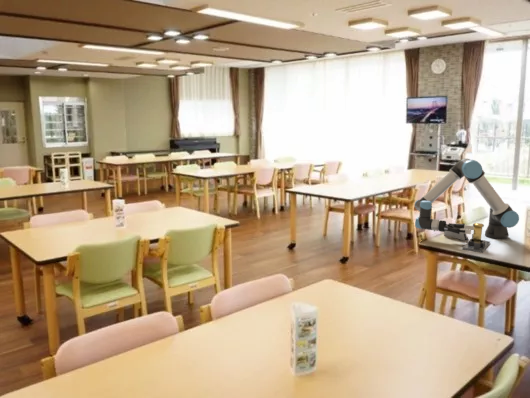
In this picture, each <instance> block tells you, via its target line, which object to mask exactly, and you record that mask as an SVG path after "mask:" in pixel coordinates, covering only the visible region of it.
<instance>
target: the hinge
mask: <svg viewBox="0 0 530 398" xmlns="http://www.w3.org/2000/svg"><path fill="white" fill-rule="evenodd" d="M461 229H463V228H461ZM443 235H444V236H446V237H451V238H454V239H457V240H461V241H466V240H469V236H468V234H464V233H459V234H458V233H454V232H450V231H445V232H443Z"/></svg>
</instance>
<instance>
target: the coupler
mask: <svg viewBox="0 0 530 398" xmlns="http://www.w3.org/2000/svg"><path fill="white" fill-rule="evenodd" d="M472 226H474V230H473V233H472V234H473V242H480V243H481V240H482V233H483V228H484V226H485V225H484V224H483V223H479V222H475V223H473V224H472Z"/></svg>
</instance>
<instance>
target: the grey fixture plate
mask: <svg viewBox="0 0 530 398" xmlns="http://www.w3.org/2000/svg"><path fill="white" fill-rule="evenodd" d="M490 244H491V241H488V240H483V239H481V243H480V242H473V233H471V238H470V239H468V240H467V242H466V244H465V245H463V246H462V251H463V250H464V251H471V252H477V253H483V252H485V250H486V249H487V248H488V246H489V245H490Z"/></svg>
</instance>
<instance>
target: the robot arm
mask: <svg viewBox="0 0 530 398" xmlns="http://www.w3.org/2000/svg"><path fill="white" fill-rule="evenodd" d="M485 174H486V173H485V171H484V169H483V166H482V165H481V163H480V162H478V161H477V160H475V159H470V158H462V159H461V160H459V161H457V162H456V163H455V164H454V165H453V166H451V168H450V169H449V171H448V173H446V174H445V176H443V178H441V179H440V181H438V182H437V183H436V184H435V185H434V186H432V187H431V189H429V190H428V192H427V193H425V195H423V196H422V197H421V198H420V199H417V200H416V201H415V202H414V208H415V209H416V210H417V211H418V212H419V216H418V217H416V218H415V221H414V222H415V223H414V224H415V228H417V229H421V230H427V231H433V232H443V233H444V232H445V231H450V232H454V233H458V234H459V233H464V234H466V235H472V231H474V226H473V225H469V224H465V223H450V222H448V223H447V221H446V220H442V219H441V220H440V219H434V218H433V219H432V209H433V205H432V204H433V203H435V201H436V200H437V199H439V197H440V196H441V195H443V194H444V193H445V192H446V191H448V189H449V188H450V187H451V186H452V185H454V184H455V182H456V181H458V180H461V179H462V178H465V179H466V181H467V182H468V183H469V184H473V185H474V187H475V189H476V190H477V191H478V192H479V194H480V195H481V197H482V198H483V199H484V201H485V202H486V203H487V205H488V206H489V207H490V208H489V214H488V215H489V217H488V218H489V219H488V225H487V227H486V230H485V231H484V236H485V237H487V238H491V239H497V240H502V239H503V240H506V239H509V236H510V234H509V230H508V228H513V227H515V226H517V225H518V223H519V221H520V215H519V213H517V212H516V211H515V210H513V208H512V207H511V206H510V204H509V203H505V201H503V199H502V198H501V197H500V195H499V194H498V192H497V191H496V189H494V187H493V186H492V184H491V183H490V181H489V180H488V179H487V177H486V176H485ZM461 228H463V229H461Z"/></svg>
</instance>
